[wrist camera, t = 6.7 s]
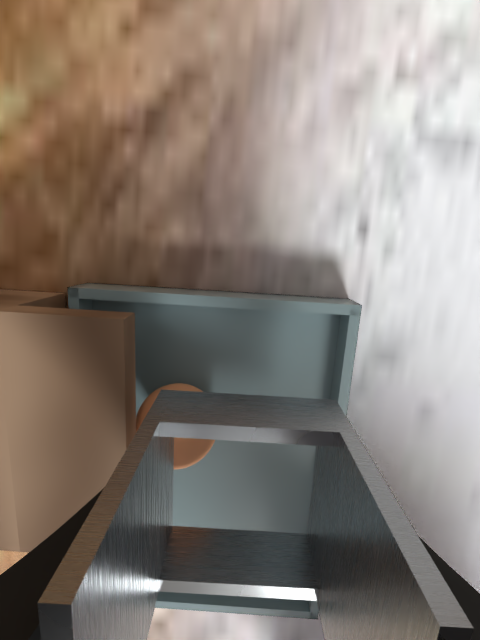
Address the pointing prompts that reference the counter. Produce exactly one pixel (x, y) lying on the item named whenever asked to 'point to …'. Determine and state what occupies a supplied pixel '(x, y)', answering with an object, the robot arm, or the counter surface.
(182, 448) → the ball
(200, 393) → the sleeve
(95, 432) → the stand
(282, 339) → the tray
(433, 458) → the counter surface
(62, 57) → the counter surface
